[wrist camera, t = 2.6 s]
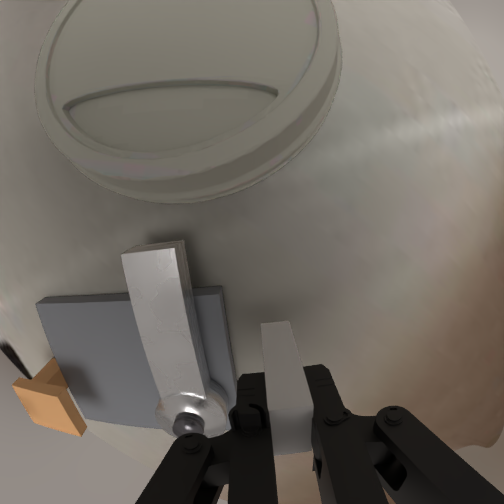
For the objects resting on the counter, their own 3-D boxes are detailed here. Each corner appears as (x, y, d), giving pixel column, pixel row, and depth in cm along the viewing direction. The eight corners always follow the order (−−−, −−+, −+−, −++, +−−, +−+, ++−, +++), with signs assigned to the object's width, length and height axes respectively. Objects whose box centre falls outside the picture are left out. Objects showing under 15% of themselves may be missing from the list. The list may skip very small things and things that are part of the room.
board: (45, 297, 18) (35, 303, 17) (221, 285, 18) (219, 294, 17) (91, 409, 21) (85, 418, 20) (243, 417, 21) (242, 429, 19)
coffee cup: (128, 148, 16) (-16, 115, 4) (205, 45, 15) (162, -87, 3) (235, 221, 17) (209, 293, 6) (315, 112, 16) (415, 14, 4)
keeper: (48, 348, 19) (11, 385, 13) (93, 352, 19) (57, 397, 13) (64, 383, 20) (34, 422, 14) (109, 389, 20) (81, 436, 14)
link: (232, 419, 19) (230, 452, 15) (172, 419, 19) (163, 450, 15) (199, 238, 16) (187, 251, 12) (122, 247, 16) (95, 261, 12)
